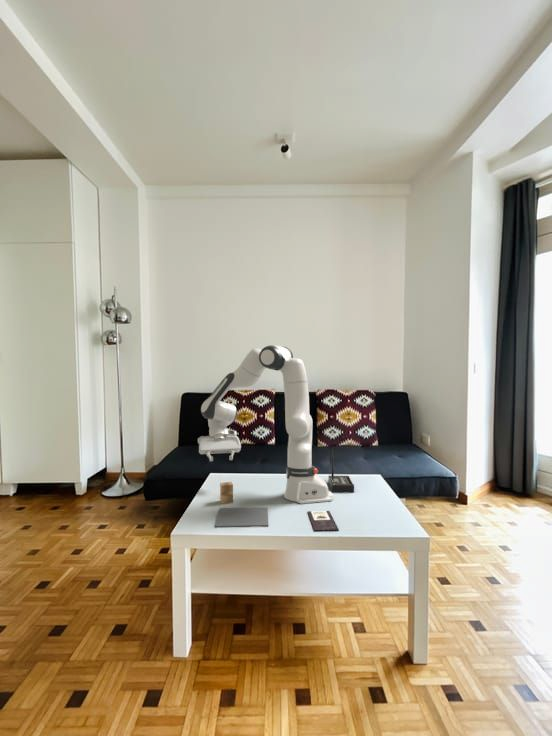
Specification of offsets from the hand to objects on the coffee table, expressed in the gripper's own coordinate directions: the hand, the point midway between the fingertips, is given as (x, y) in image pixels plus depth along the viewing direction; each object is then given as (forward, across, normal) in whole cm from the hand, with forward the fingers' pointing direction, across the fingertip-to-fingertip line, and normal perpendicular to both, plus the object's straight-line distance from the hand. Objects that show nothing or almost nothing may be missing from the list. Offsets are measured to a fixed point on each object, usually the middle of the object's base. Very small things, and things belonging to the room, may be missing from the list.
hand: (221, 460), depth 183 cm
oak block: (+20, 0, +2) cm, 20 cm away
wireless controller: (+16, +59, +6) cm, 61 cm away
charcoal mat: (+34, +4, -12) cm, 36 cm away
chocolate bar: (+43, +32, -21) cm, 57 cm away
